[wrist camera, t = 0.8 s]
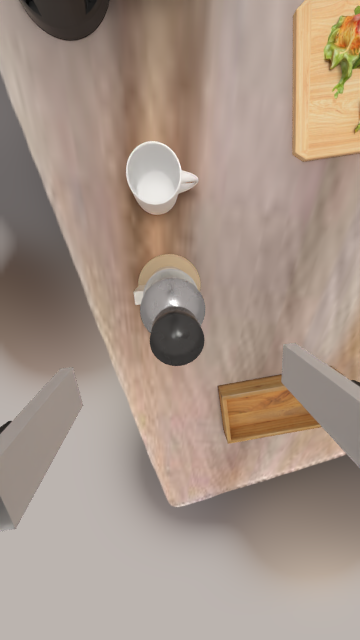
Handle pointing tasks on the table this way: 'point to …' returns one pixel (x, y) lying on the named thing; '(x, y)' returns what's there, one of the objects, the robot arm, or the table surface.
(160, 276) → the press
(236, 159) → the table surface
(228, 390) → the tray
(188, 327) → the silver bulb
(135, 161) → the mug
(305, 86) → the cutting board
